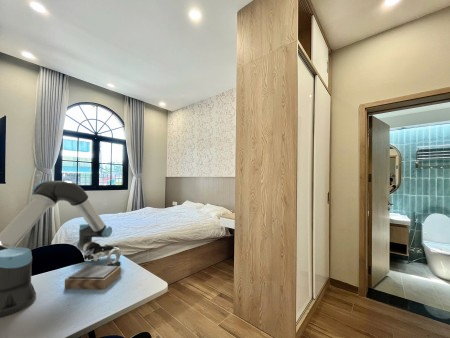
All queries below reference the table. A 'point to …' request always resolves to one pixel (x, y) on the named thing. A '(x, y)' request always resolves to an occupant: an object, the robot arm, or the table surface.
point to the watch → (115, 262)
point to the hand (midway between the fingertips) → (108, 254)
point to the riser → (93, 277)
